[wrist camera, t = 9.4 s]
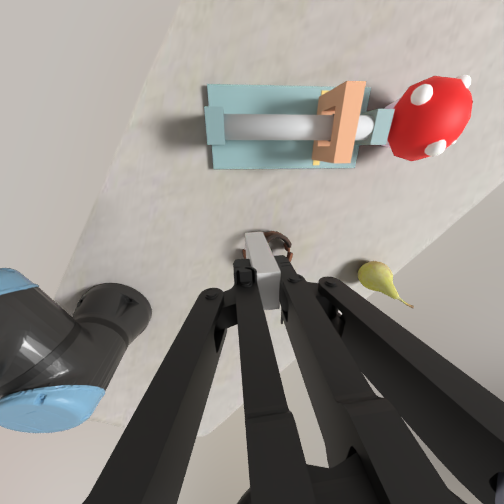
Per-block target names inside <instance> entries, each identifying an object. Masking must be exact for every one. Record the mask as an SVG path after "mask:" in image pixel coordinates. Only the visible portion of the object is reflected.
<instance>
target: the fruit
mask: <svg viewBox="0 0 504 504" xmlns="http://www.w3.org/2000/svg"><path fill="white" fill-rule="evenodd" d="M358 278H359V281H360V282H361V284H362V285H363V286H364V287H366V288H368V289H370V290H374V291H379V292H382V293H384V294H386V295H388V296H390V297H391V298H393V299H398V300H400V301H401V302H403V303H404V304H406V305H407V306H409V307H411V308H414V306H412V305H410V304H408V303H406V302H405V301H403V300H402V299H401V298H400V297H399V295H398V293H397V291H396V289H395V287H394V285H393V282H392V281H393V274H392V272H391V270H390V269H389V268H388V266H387V265H385V264H384V263H381V262H377V261H371V262H368V263H365V264H364V265H362V266H361V268H360V269H359V271H358Z"/></svg>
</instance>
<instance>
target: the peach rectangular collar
mask: <svg viewBox="0 0 504 504" xmlns="http://www.w3.org/2000/svg"><path fill="white" fill-rule="evenodd" d="M365 85H366V81H346V82H344V83H342V84H341V85H339V86H337V87H335V88H334V89H332V90H330V91H328V92H326V93H325V94H323V95H321V96H319V100H318V108H317V115H332V114H335V115H334V121H333V128H332V135H331V141H327V140H314V143H313V151H312V160H317V161H323V162H328V163H351V158H352V152H353V147H354V142H355V137H356V132H357V127H358V121H359V116H360V111H361V106H362V101H363V96H364V90H365Z"/></svg>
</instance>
